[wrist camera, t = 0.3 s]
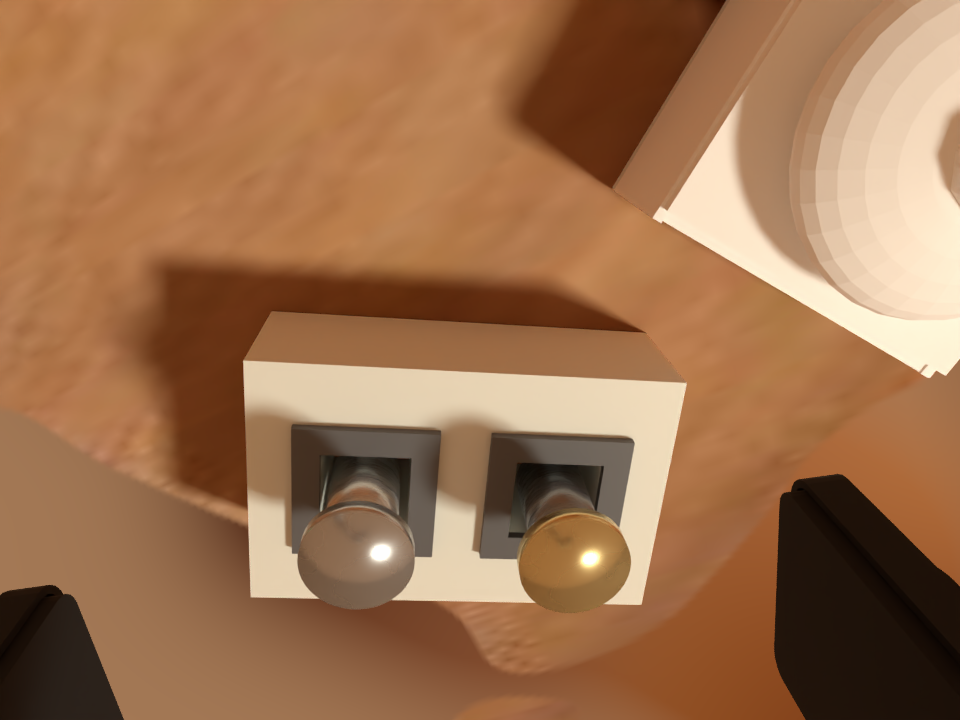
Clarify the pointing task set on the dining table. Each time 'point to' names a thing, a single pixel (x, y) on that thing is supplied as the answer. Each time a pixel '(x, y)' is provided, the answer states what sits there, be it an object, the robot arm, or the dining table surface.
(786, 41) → the butter dish
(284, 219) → the dining table surface
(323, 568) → the grey peg
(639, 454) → the socket block
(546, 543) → the brass-capped peg
